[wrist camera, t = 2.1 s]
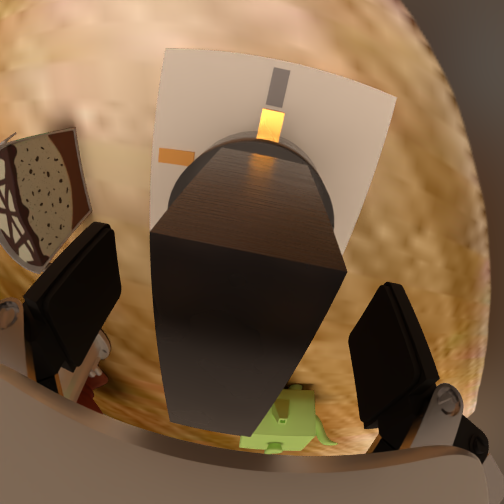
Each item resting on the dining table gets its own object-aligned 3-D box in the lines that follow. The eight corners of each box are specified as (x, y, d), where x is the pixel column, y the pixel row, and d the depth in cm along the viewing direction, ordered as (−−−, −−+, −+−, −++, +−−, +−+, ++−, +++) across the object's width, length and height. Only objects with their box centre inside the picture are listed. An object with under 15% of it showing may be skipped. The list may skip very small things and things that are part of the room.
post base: (328, 271, 27) (339, 322, 21) (155, 236, 27) (126, 279, 21) (389, 96, 17) (432, 102, 11) (172, 50, 17) (132, 38, 11)
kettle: (334, 395, 42) (339, 451, 33) (272, 414, 48) (269, 464, 38) (284, 362, 36) (283, 434, 27) (217, 387, 42) (207, 445, 33)
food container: (37, 127, 20) (-31, 156, 12) (73, 113, 20) (-3, 139, 11) (59, 224, 27) (8, 273, 18) (95, 223, 26) (41, 278, 18)
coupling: (301, 266, 18) (313, 441, 8) (184, 242, 18) (109, 402, 8) (345, 127, 13) (491, 232, 3) (200, 96, 13) (28, 134, 3)
